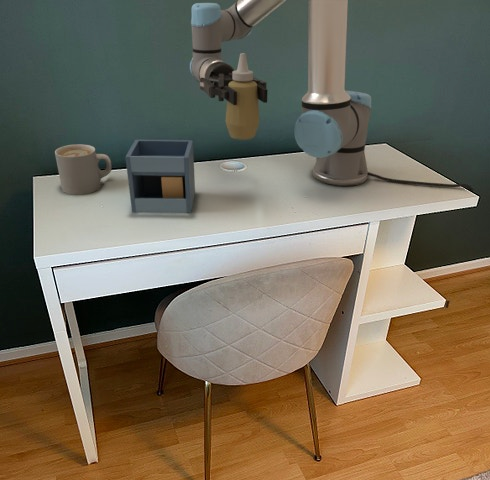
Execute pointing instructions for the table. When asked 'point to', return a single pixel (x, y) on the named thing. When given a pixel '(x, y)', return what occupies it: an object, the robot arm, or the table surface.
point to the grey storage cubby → (159, 174)
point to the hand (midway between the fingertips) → (250, 97)
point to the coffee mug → (80, 168)
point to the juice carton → (173, 186)
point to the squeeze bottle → (243, 103)
